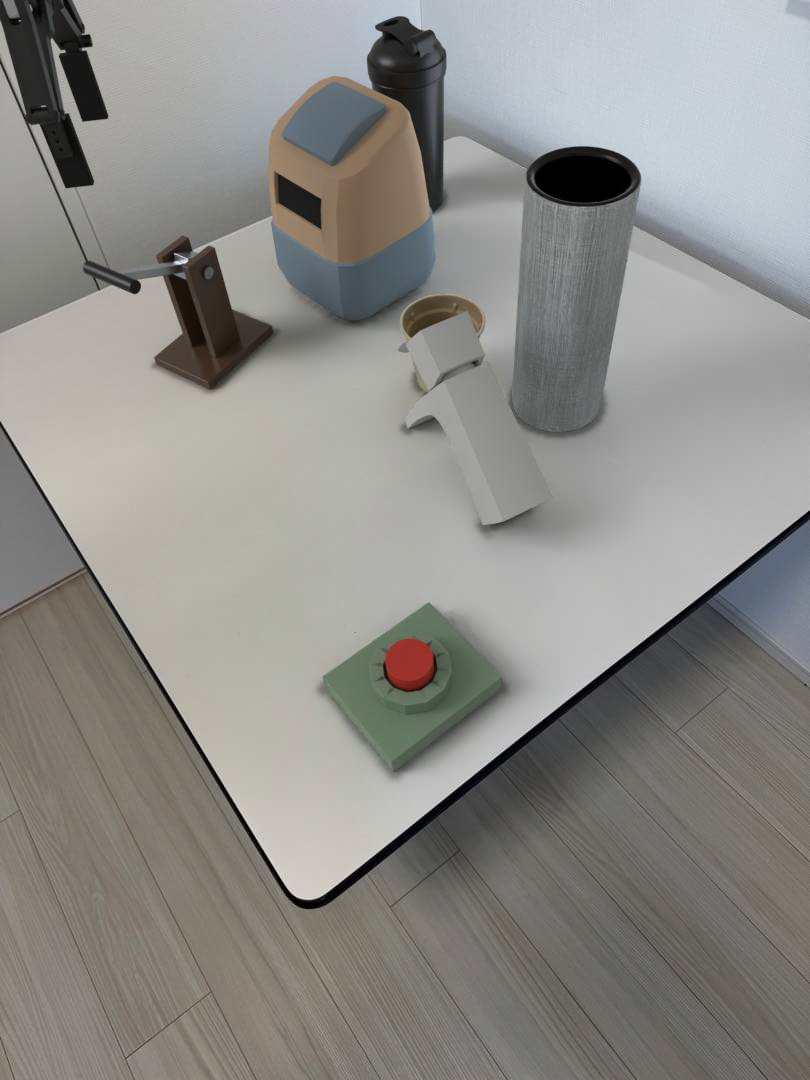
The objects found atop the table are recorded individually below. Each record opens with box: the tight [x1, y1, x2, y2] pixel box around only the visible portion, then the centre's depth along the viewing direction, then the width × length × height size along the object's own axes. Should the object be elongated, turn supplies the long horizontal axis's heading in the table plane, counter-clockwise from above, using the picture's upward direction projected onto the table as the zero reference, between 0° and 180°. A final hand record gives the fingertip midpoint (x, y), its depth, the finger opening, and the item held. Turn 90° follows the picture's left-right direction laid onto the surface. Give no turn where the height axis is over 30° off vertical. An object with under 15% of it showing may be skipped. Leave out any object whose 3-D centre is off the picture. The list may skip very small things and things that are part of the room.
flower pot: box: [399, 292, 487, 394], centre depth 92 cm, size 9×9×9 cm
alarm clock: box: [267, 75, 436, 321], centre depth 99 cm, size 17×17×23 cm
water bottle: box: [366, 15, 448, 213], centre depth 110 cm, size 10×10×23 cm
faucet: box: [397, 311, 555, 526], centre depth 84 cm, size 6×16×20 cm
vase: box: [511, 145, 642, 433], centre depth 82 cm, size 10×10×27 cm
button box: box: [321, 601, 503, 773], centre depth 71 cm, size 12×10×4 cm
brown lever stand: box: [153, 235, 274, 390], centre depth 96 cm, size 12×9×14 cm
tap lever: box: [82, 250, 199, 295], centre depth 88 cm, size 13×7×2 cm, turn 146°
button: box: [385, 638, 434, 690], centre depth 69 cm, size 4×4×2 cm
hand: (88, 150), depth 83 cm, fingers open, 13 cm apart
